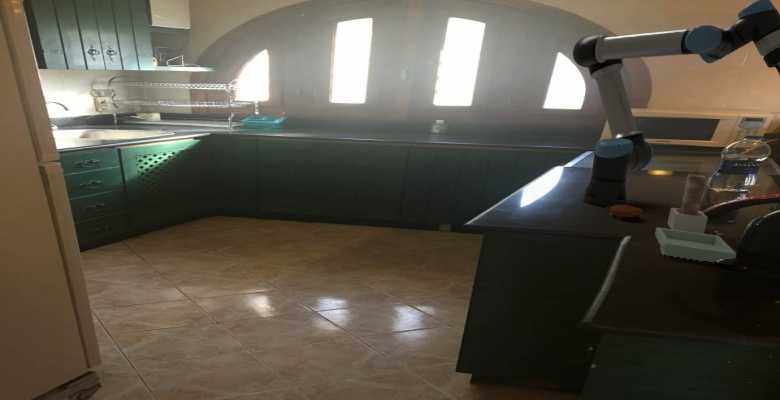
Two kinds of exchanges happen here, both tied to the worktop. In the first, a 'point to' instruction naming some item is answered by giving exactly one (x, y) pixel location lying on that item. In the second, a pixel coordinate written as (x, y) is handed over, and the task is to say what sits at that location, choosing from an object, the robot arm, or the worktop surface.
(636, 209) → the burger
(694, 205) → the peg
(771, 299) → the worktop surface
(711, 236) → the tray
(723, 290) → the worktop surface
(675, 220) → the white square box
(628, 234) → the worktop surface
